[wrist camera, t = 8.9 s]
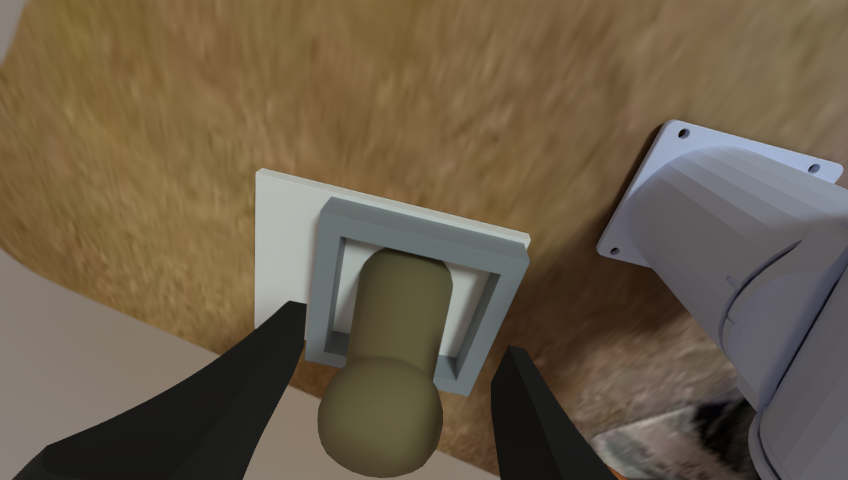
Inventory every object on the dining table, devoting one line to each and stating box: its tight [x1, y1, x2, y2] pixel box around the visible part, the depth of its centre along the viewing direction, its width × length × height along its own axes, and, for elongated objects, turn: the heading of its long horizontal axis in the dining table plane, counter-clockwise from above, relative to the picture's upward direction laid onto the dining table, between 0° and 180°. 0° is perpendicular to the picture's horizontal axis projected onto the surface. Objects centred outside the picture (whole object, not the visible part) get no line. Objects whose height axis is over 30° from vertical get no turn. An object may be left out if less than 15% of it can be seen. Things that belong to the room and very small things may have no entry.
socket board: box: [255, 168, 531, 396], centre depth 23 cm, size 16×12×3 cm
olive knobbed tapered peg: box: [318, 247, 453, 478], centre depth 19 cm, size 6×6×11 cm
